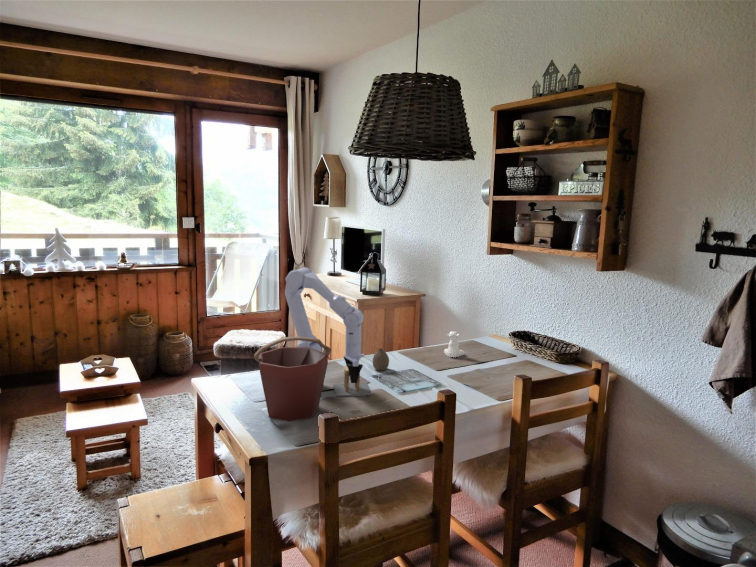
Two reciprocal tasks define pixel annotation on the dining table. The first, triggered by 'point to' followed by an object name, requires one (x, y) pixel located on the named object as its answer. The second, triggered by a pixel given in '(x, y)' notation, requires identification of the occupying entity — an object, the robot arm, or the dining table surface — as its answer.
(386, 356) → the vase
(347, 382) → the stool
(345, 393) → the mat
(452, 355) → the seated beast figurine
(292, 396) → the bucket
